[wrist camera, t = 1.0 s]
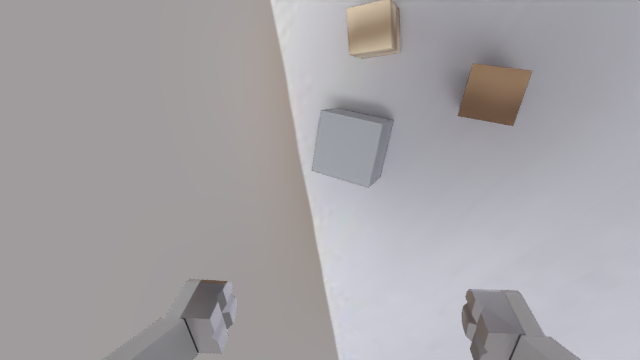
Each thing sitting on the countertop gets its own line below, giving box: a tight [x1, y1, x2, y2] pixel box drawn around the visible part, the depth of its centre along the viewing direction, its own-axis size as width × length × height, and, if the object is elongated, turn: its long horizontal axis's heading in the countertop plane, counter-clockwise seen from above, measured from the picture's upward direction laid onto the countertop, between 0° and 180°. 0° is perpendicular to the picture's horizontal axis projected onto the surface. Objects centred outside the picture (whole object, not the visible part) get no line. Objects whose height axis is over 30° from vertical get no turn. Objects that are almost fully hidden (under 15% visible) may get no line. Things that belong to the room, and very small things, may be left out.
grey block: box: [312, 108, 394, 188], centre depth 42 cm, size 8×8×6 cm
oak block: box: [346, 0, 400, 59], centre depth 38 cm, size 5×5×5 cm
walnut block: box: [458, 63, 532, 126], centre depth 32 cm, size 4×4×11 cm
